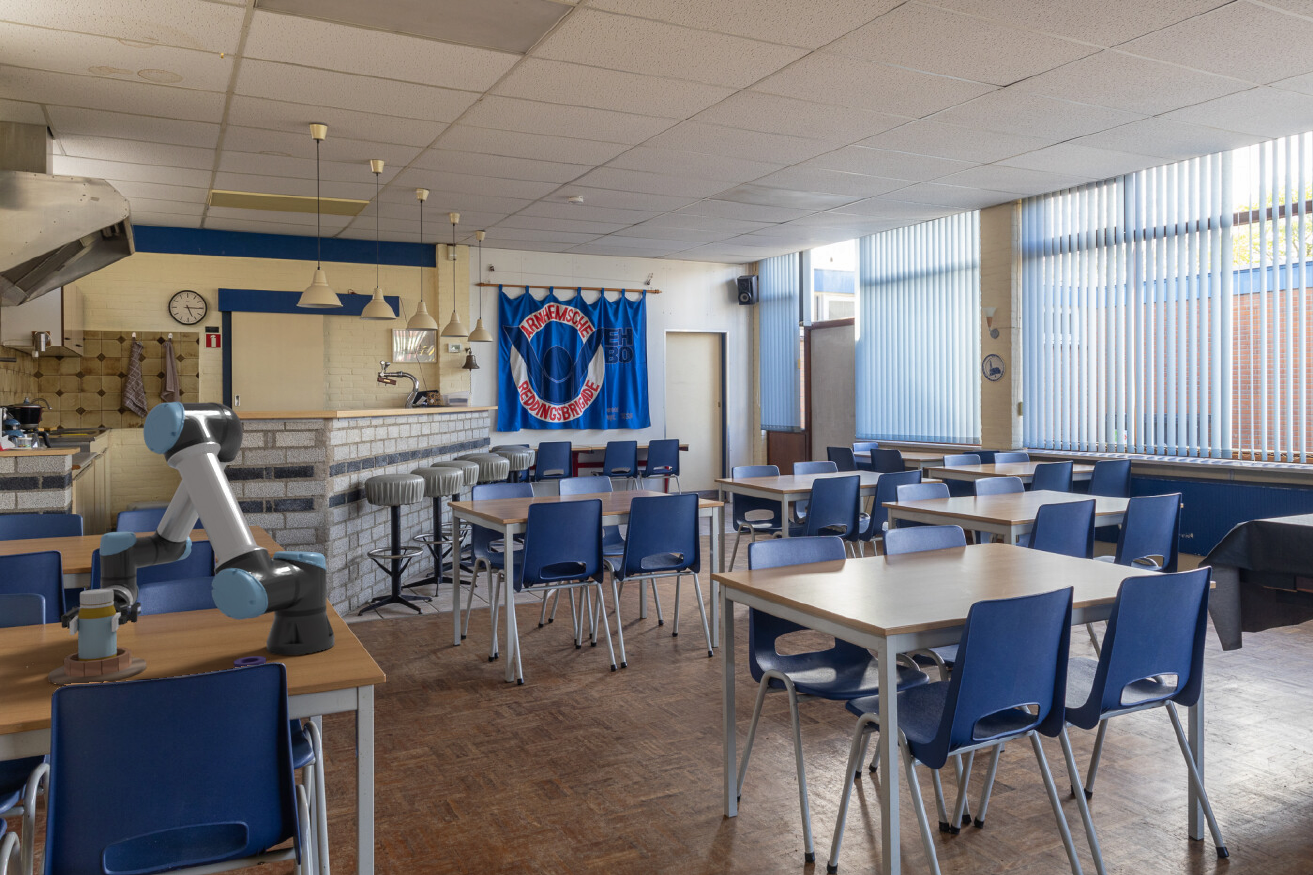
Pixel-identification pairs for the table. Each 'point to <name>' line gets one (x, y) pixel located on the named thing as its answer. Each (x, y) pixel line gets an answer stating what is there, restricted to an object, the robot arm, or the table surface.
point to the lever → (249, 661)
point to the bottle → (96, 625)
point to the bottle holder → (97, 668)
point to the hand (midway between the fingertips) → (93, 626)
